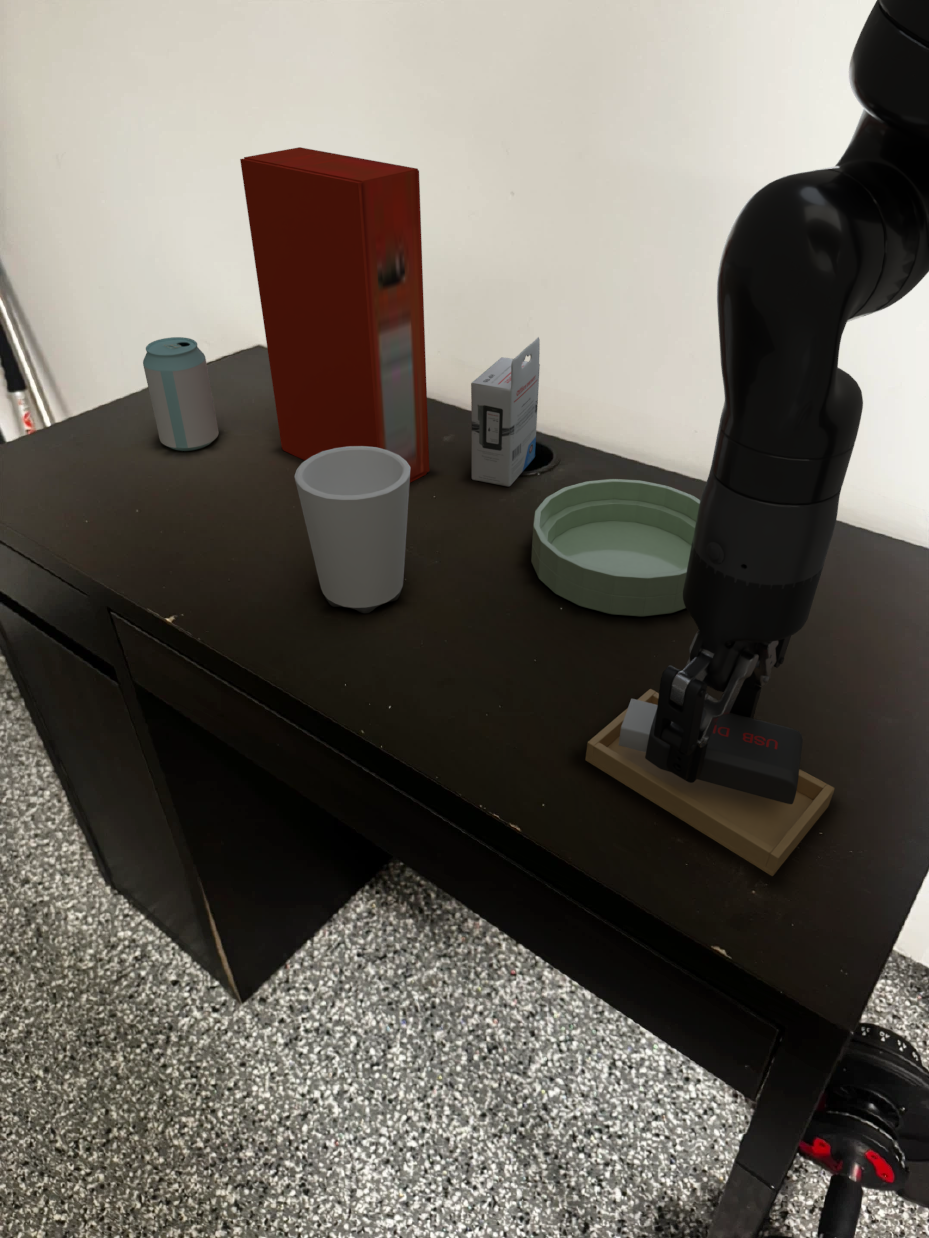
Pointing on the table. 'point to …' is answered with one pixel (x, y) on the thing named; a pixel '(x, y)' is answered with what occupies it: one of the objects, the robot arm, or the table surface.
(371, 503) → the cup
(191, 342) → the can
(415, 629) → the table surface
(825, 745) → the table surface
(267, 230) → the file binder
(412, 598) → the table surface
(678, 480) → the table surface
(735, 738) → the usb drive
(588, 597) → the green round dish
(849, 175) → the robot arm
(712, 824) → the tray
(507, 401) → the ink box
